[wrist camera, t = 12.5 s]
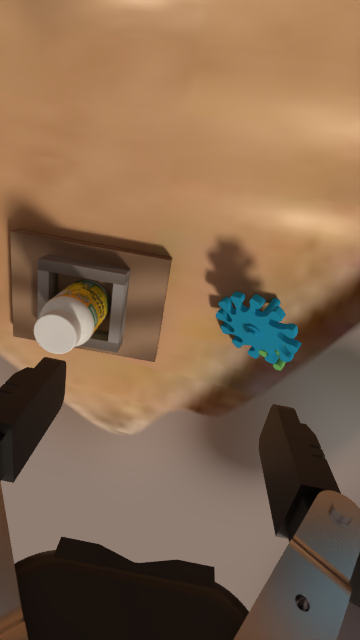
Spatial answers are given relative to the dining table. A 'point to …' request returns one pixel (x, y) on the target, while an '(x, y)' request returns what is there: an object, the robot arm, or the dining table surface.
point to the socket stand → (98, 266)
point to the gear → (259, 328)
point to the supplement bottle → (71, 316)
